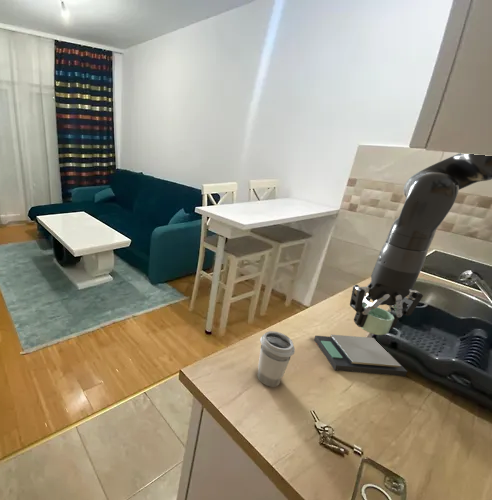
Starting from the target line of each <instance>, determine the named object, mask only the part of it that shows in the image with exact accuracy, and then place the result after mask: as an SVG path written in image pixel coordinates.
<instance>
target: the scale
mask: <svg viewBox="0 0 492 500" xmlns="http://www.w3.org/2000/svg"><path fill="white" fill-rule="evenodd" d="M313 341H314V343H315V344H316V345H317V347H318V348H319V350H320V351H321V353H322V354H323V355H324V357H325V359H327V361H328V363H329V364H330V365H331V367H332V369H333V370H334V371H339V372H349V373H350V372H351V373H361V374H362V373H363V374H373V375H375V374H376V375H385V376H386V375H387V376H398V377H406V375H407V373H408V370H407V369H406V368H405V367H404V366H403V365H402V364H401V363H400V361H398V360H397V359H396V358H395V357H394V356H393V355H392V354H391V353H390V352H389V351H388V353H389V354H390V355H391V356H392V357H393V358H394V359H395V360H396V361H397V362H398V363H399V364H400V365H401V367H388V366H376V365H365V364H353V363H351V362H350V361H349V360H348V358H347V357H346V356H345V354H344V353H343V352H342V351H341V349H340V348H339V347H338V346H337V344H336V343H335V342H334V340H333V339H332V338H331V337H330V336H328V335H327V336H326V335H314V338H313Z"/></svg>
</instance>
